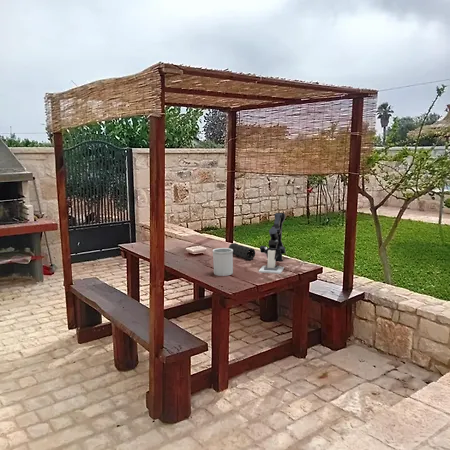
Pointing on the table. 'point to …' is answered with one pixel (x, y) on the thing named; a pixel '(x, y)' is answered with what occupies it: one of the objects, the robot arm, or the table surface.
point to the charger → (271, 259)
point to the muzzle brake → (242, 251)
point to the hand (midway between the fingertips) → (271, 259)
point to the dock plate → (271, 269)
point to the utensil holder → (223, 261)
